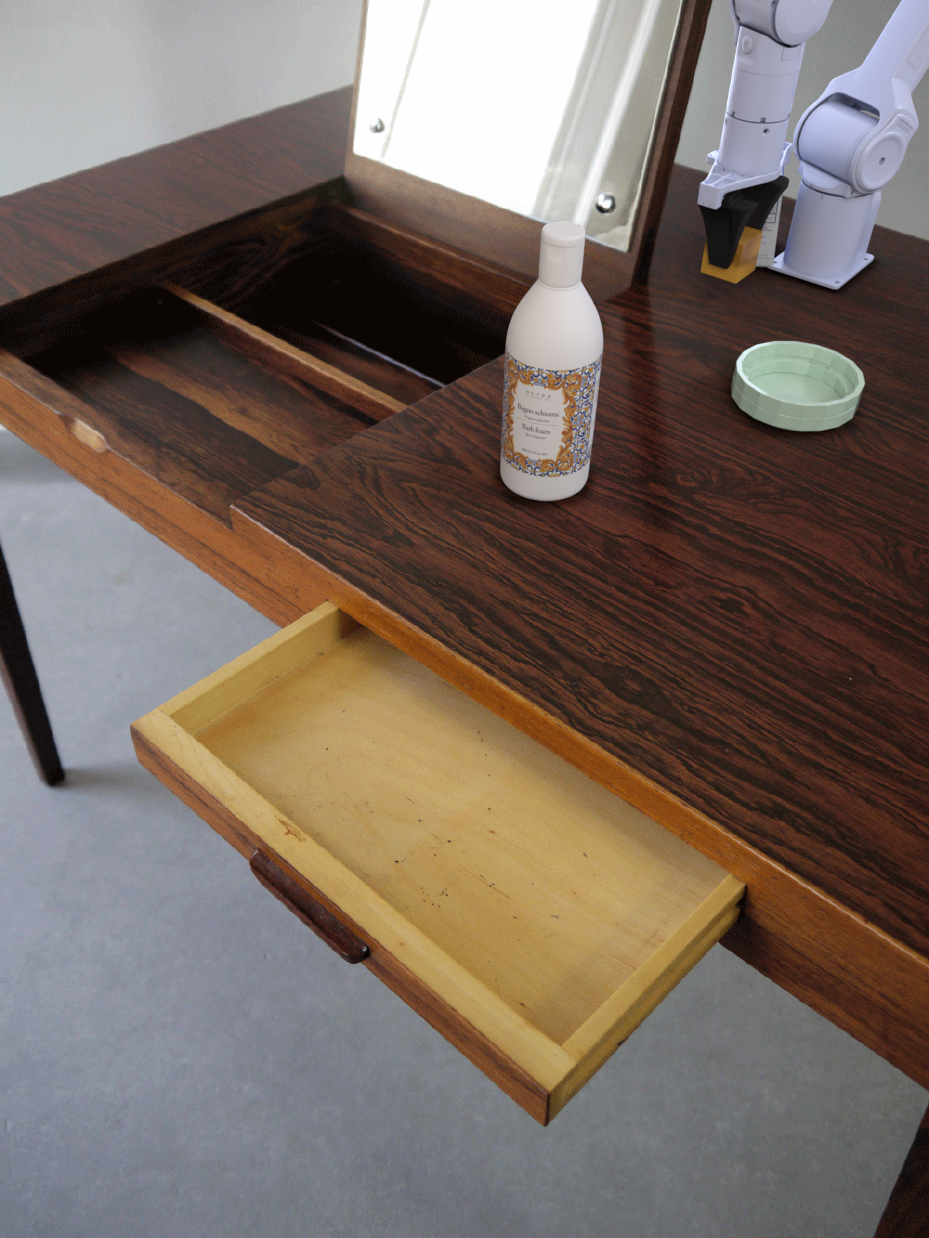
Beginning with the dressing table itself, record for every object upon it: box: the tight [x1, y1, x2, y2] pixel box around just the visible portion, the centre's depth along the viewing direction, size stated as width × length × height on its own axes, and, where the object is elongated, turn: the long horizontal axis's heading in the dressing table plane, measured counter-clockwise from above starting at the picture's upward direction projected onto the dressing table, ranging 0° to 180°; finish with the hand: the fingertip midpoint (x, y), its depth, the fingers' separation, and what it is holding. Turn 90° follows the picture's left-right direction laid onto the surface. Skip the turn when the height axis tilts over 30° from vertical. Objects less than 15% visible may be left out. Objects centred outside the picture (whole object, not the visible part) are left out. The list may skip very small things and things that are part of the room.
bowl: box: [730, 340, 866, 432], centre depth 91 cm, size 11×11×3 cm
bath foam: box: [499, 220, 604, 502], centre depth 76 cm, size 7×7×20 cm
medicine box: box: [755, 166, 785, 268], centre depth 110 cm, size 8×4×9 cm, turn 167°
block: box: [700, 226, 763, 285], centre depth 104 cm, size 4×4×4 cm
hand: (730, 257), depth 105 cm, fingers closed on block, 4 cm apart
